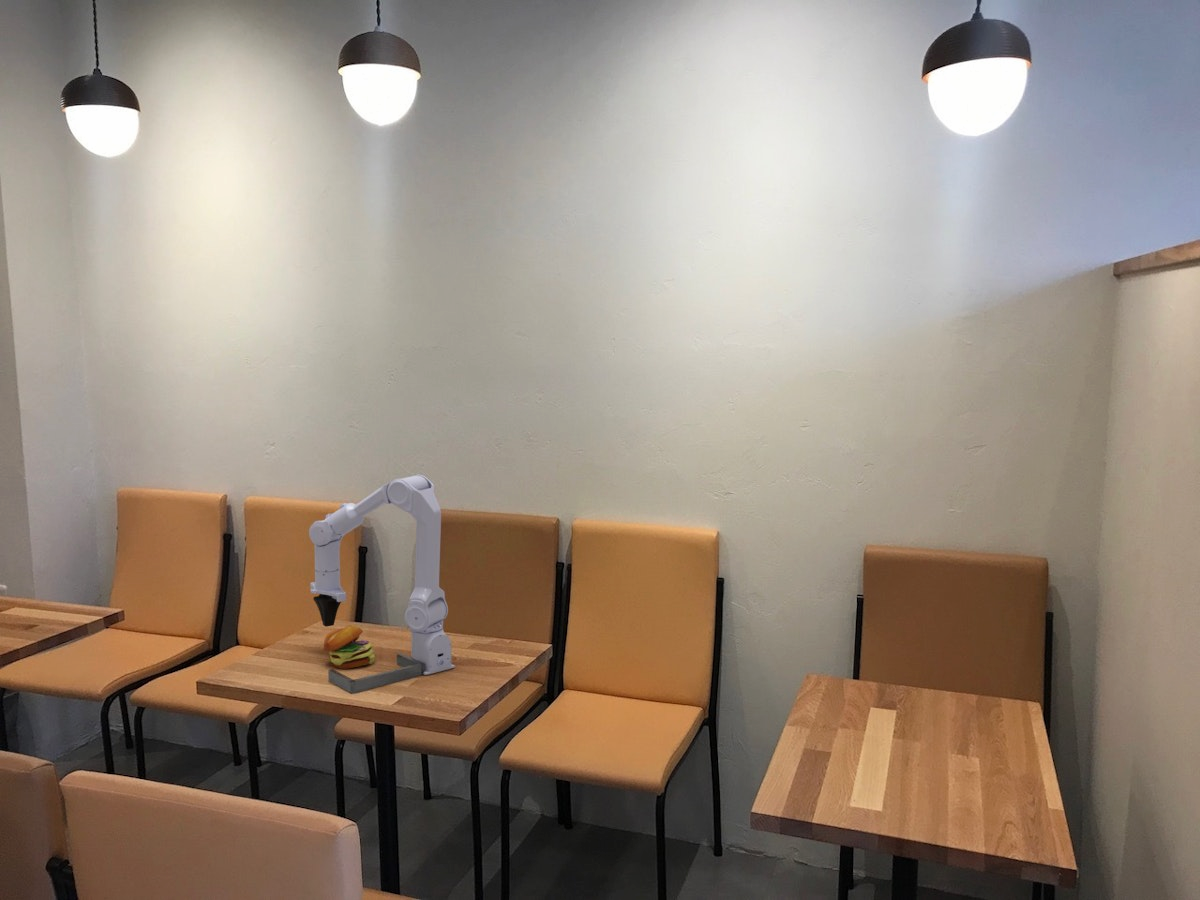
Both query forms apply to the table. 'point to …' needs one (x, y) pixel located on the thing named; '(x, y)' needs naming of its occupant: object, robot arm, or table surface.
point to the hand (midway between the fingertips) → (328, 625)
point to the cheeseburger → (348, 648)
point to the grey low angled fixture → (379, 675)
